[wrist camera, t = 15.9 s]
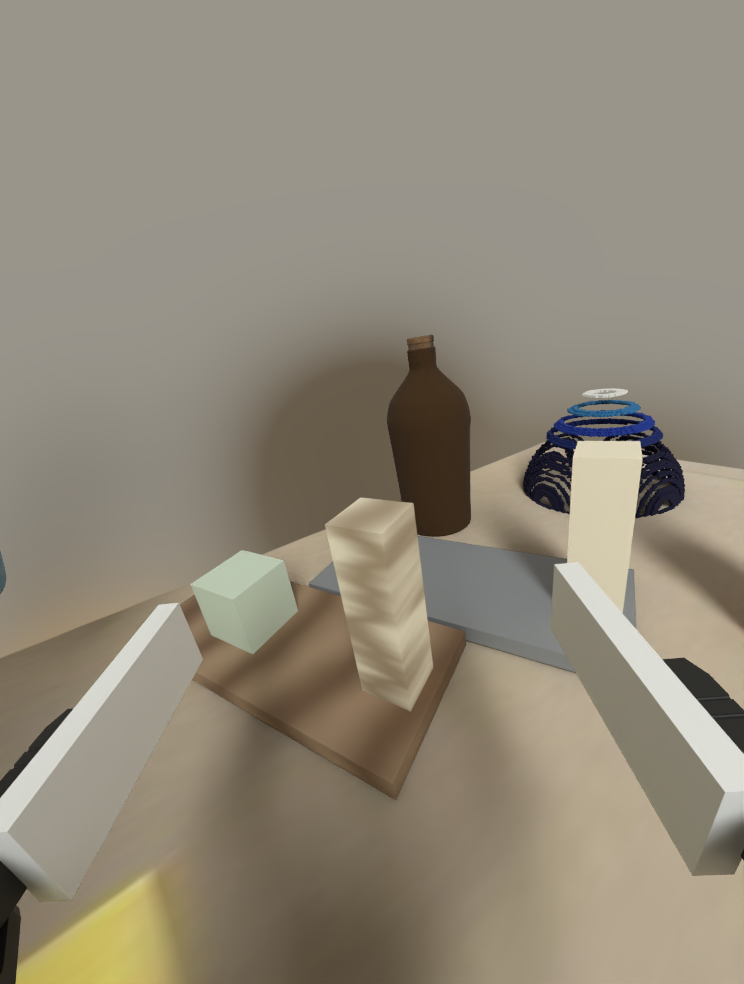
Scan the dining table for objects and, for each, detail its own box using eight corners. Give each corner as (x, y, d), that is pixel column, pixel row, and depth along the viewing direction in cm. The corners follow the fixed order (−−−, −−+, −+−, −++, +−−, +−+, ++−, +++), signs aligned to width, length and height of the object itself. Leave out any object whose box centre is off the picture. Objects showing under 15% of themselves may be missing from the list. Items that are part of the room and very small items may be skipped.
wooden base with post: (139, 647, 38) (70, 512, 32) (238, 575, 48) (200, 462, 42) (395, 799, 22) (350, 586, 16) (465, 644, 32) (453, 477, 26)
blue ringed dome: (607, 536, 44) (619, 416, 39) (498, 487, 62) (495, 400, 56) (718, 491, 50) (742, 381, 44) (588, 458, 67) (594, 377, 62)
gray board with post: (311, 594, 42) (277, 465, 36) (370, 538, 52) (351, 429, 46) (635, 690, 26) (668, 486, 20) (632, 582, 36) (653, 425, 30)
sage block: (211, 635, 36) (190, 584, 34) (257, 597, 40) (242, 550, 38) (252, 654, 33) (232, 599, 30) (298, 610, 37) (283, 560, 35)
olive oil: (423, 548, 48) (399, 340, 38) (389, 518, 57) (364, 345, 48) (491, 523, 51) (484, 326, 41) (449, 499, 60) (435, 333, 51)
